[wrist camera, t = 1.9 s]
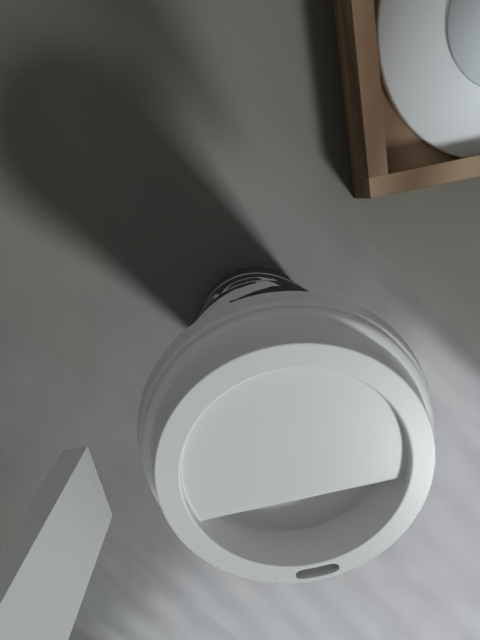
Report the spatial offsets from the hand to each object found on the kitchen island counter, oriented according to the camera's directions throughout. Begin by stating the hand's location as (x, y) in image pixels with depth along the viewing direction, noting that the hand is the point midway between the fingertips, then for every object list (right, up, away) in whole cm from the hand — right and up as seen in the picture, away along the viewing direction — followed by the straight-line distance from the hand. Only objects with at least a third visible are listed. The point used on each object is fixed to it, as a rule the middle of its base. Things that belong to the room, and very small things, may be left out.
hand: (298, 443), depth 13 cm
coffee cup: (-1, +4, +13) cm, 14 cm away
